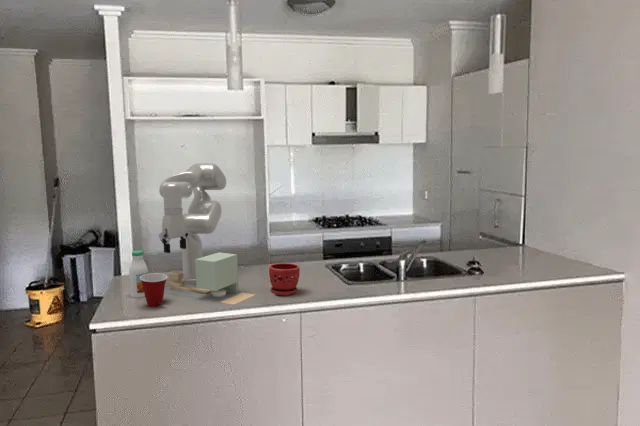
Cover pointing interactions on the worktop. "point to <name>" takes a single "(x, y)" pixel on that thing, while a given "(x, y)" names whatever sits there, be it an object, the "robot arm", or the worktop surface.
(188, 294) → the board
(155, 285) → the plastic cup
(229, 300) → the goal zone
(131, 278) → the milk bottle
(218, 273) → the shelf block
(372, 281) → the worktop surface
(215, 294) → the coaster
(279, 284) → the plant pot
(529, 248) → the worktop surface
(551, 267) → the worktop surface
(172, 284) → the block
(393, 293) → the worktop surface
